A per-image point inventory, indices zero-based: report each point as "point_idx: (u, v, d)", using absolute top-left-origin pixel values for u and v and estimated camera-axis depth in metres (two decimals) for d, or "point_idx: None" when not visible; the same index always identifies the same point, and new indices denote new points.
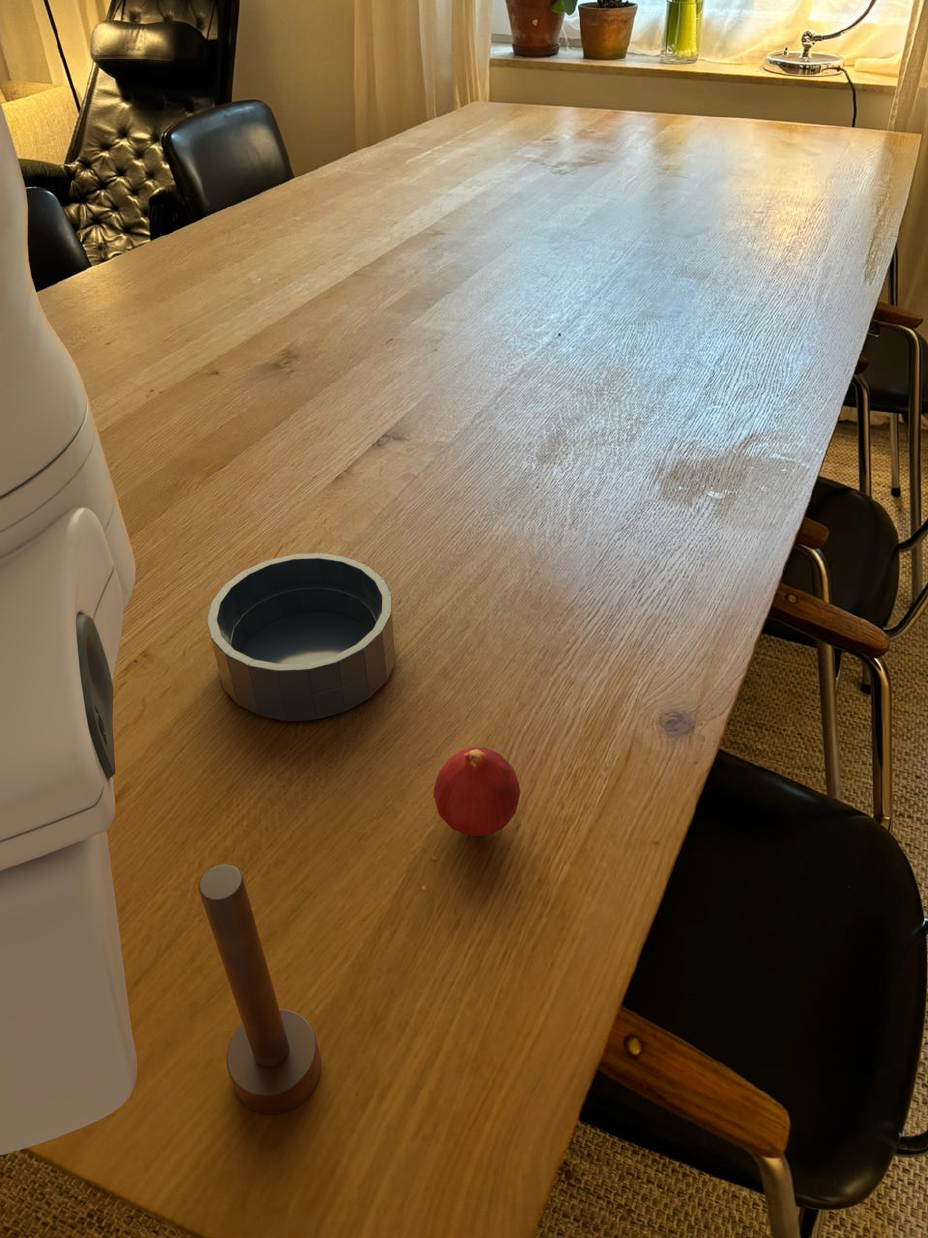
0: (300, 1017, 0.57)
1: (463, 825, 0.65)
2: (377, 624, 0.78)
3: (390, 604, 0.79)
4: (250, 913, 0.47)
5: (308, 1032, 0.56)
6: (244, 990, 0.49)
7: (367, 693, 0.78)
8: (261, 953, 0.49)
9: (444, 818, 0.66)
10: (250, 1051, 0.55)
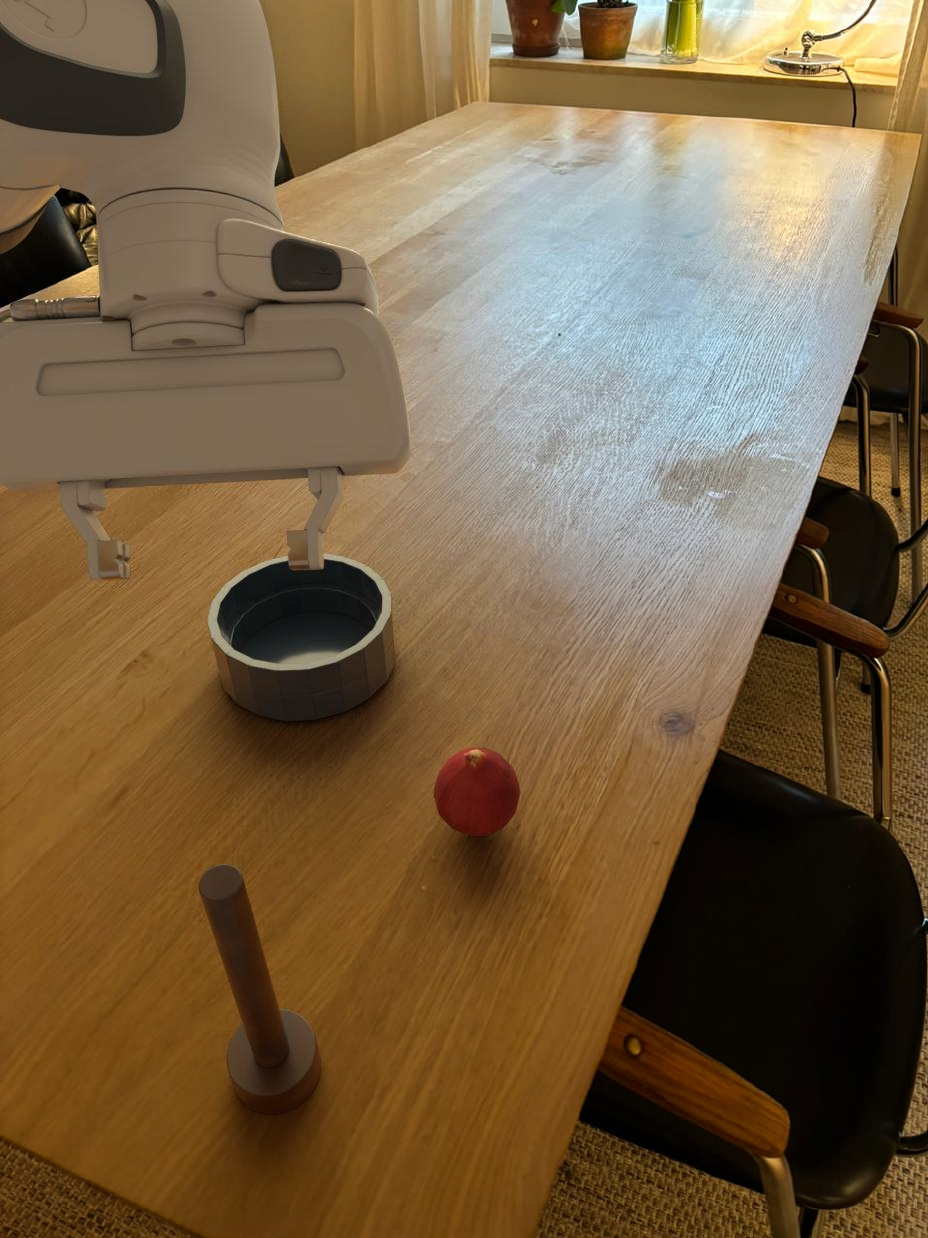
0: (300, 1017, 0.57)
1: (463, 825, 0.65)
2: (377, 624, 0.78)
3: (390, 604, 0.79)
4: (250, 913, 0.47)
5: (308, 1032, 0.56)
6: (244, 990, 0.49)
7: (367, 693, 0.78)
8: (261, 953, 0.49)
9: (444, 818, 0.66)
10: (250, 1051, 0.55)
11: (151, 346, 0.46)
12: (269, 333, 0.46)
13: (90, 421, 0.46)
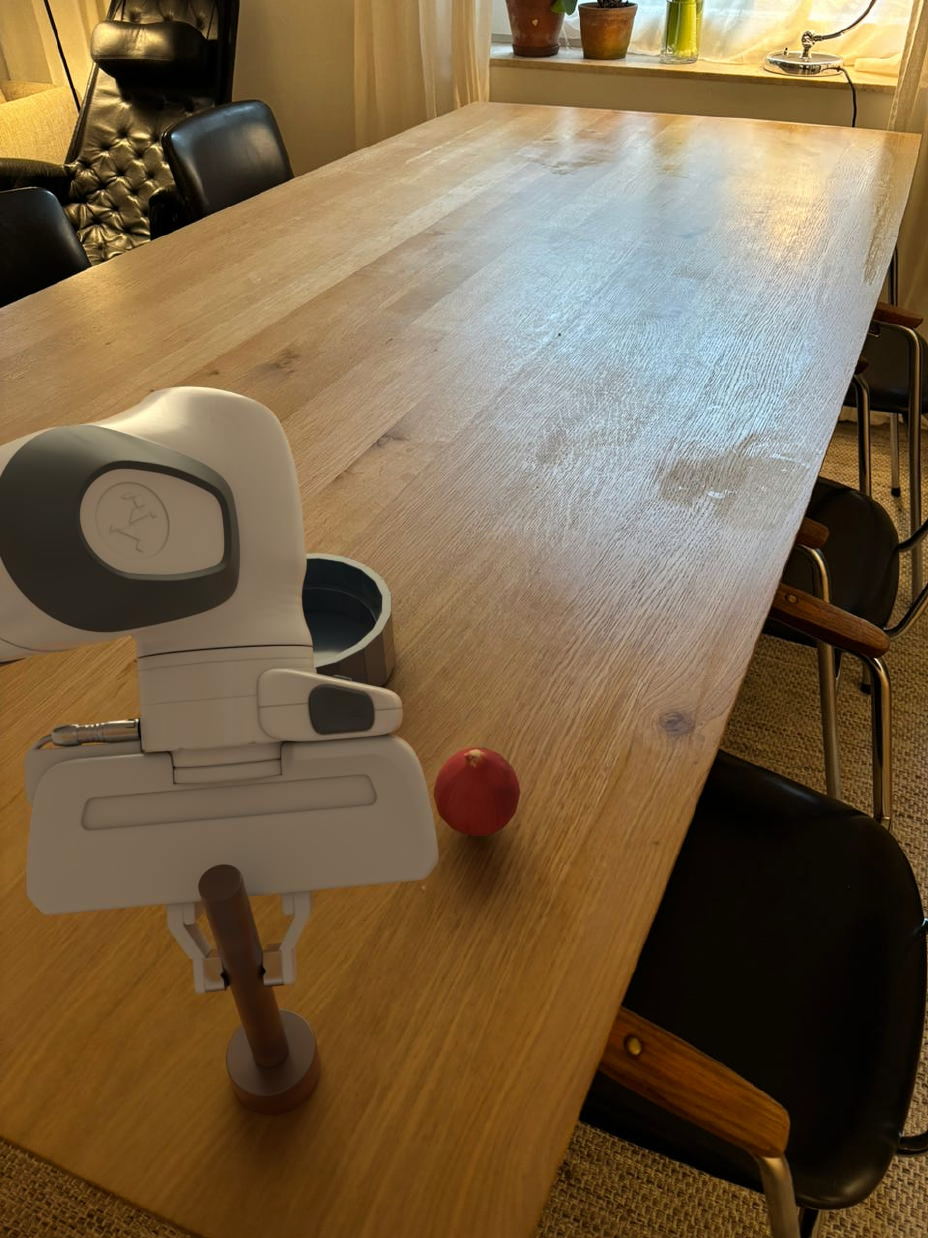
0: (299, 1017, 0.57)
1: (463, 825, 0.65)
2: (377, 624, 0.78)
3: (390, 604, 0.79)
4: (250, 913, 0.47)
5: (307, 1032, 0.56)
6: (243, 990, 0.49)
7: None
8: (260, 953, 0.49)
9: (444, 818, 0.66)
10: (249, 1051, 0.55)
11: None
12: (306, 767, 0.49)
13: (135, 855, 0.48)
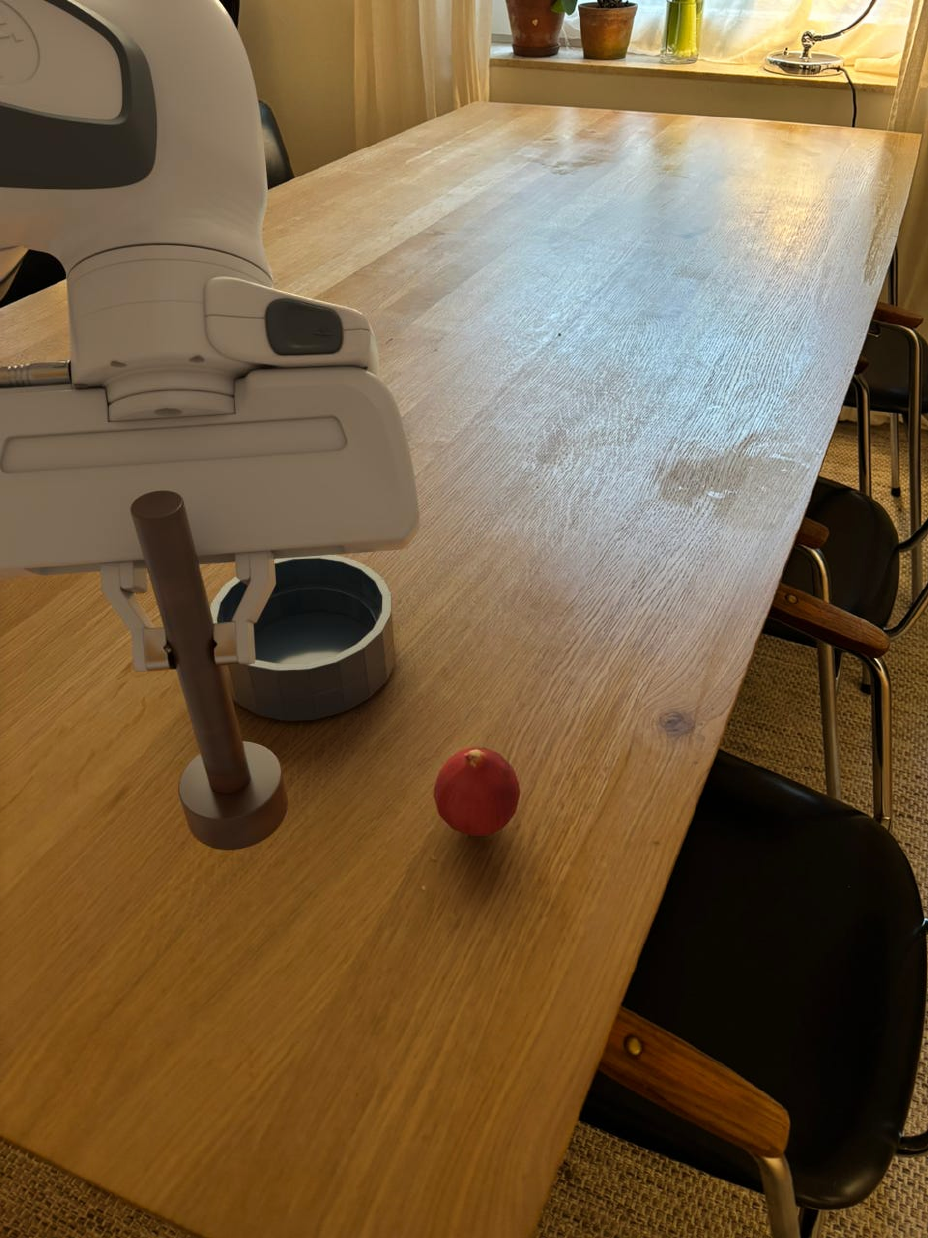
0: (264, 748, 0.50)
1: (463, 825, 0.65)
2: (377, 624, 0.78)
3: (390, 604, 0.79)
4: (194, 555, 0.39)
5: (273, 762, 0.49)
6: (191, 668, 0.42)
7: (367, 693, 0.78)
8: (210, 621, 0.42)
9: (444, 818, 0.66)
10: (205, 779, 0.48)
11: (130, 416, 0.41)
12: (263, 401, 0.41)
13: (62, 501, 0.41)
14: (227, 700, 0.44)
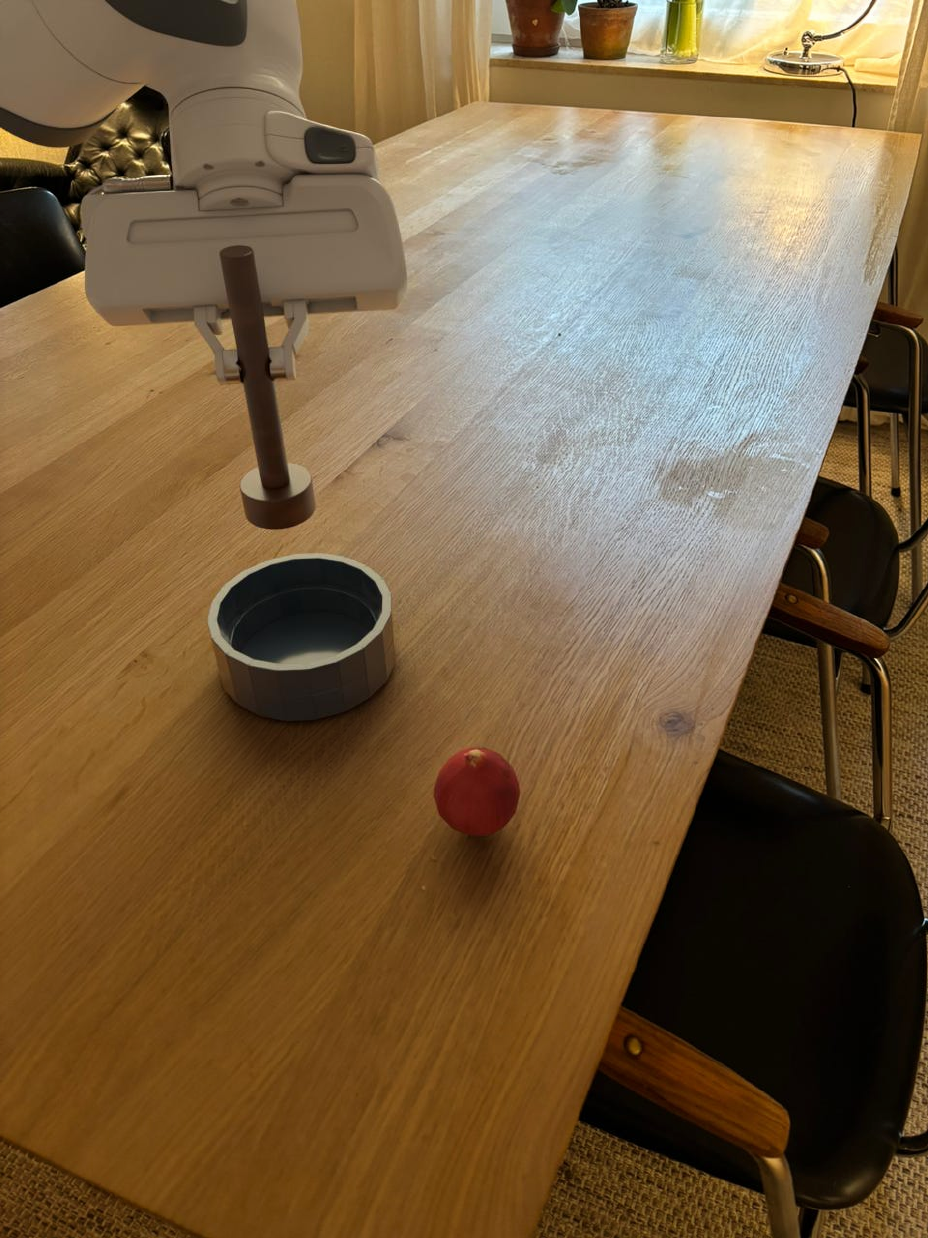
0: (298, 465, 0.70)
1: (463, 825, 0.65)
2: (377, 624, 0.78)
3: (390, 604, 0.79)
4: (259, 290, 0.60)
5: (305, 472, 0.70)
6: (254, 378, 0.63)
7: (367, 693, 0.78)
8: (267, 344, 0.62)
9: (444, 818, 0.66)
10: (258, 481, 0.69)
11: (214, 206, 0.62)
12: (302, 196, 0.62)
13: (169, 262, 0.62)
14: (276, 409, 0.65)
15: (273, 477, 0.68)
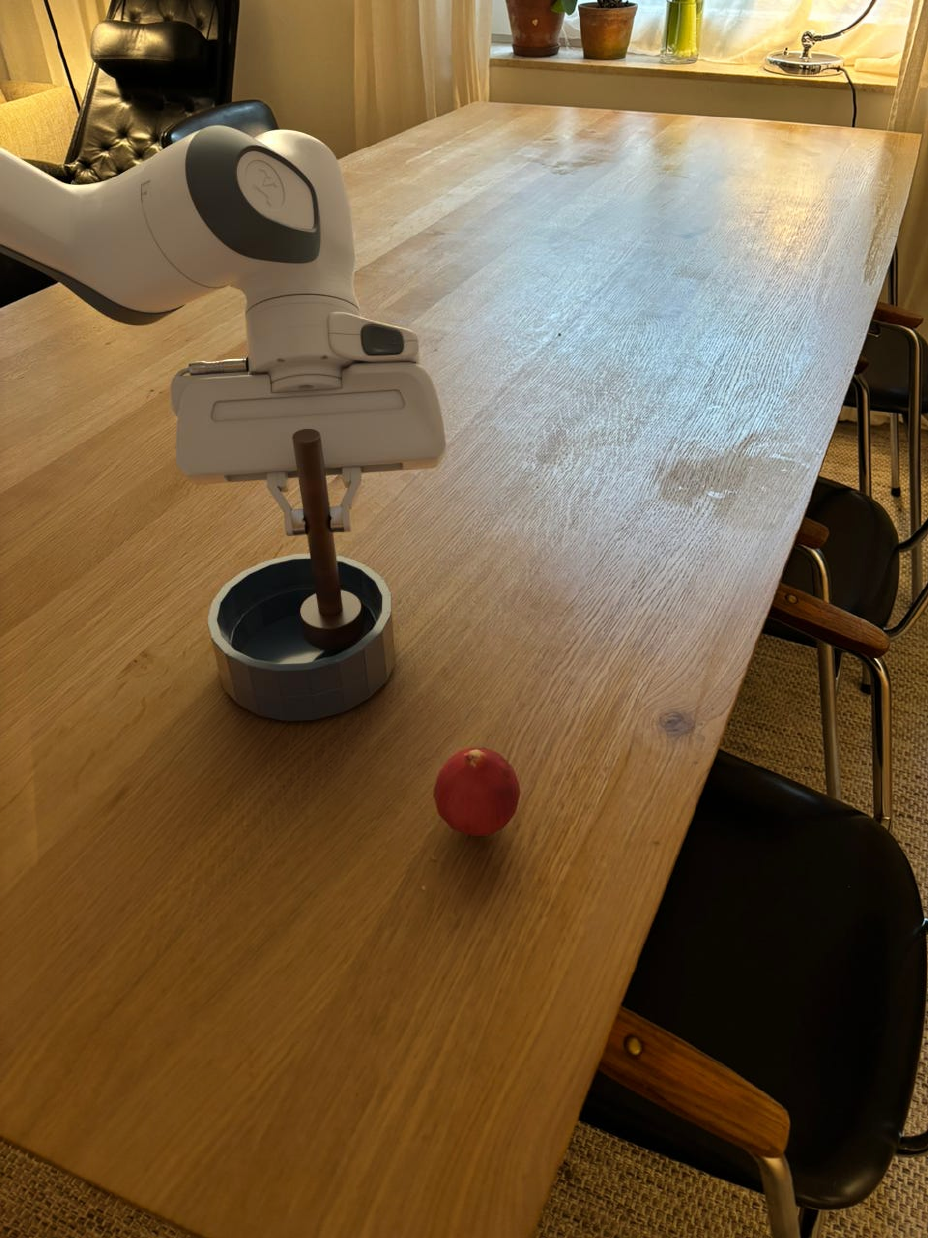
0: (349, 593, 0.82)
1: (463, 825, 0.65)
2: (377, 624, 0.78)
3: (390, 604, 0.79)
4: (323, 465, 0.72)
5: (355, 599, 0.81)
6: (317, 532, 0.74)
7: (367, 693, 0.78)
8: (329, 504, 0.74)
9: (444, 818, 0.66)
10: (316, 608, 0.81)
11: (284, 389, 0.73)
12: (358, 381, 0.74)
13: (246, 437, 0.73)
14: (334, 554, 0.77)
15: (329, 607, 0.79)
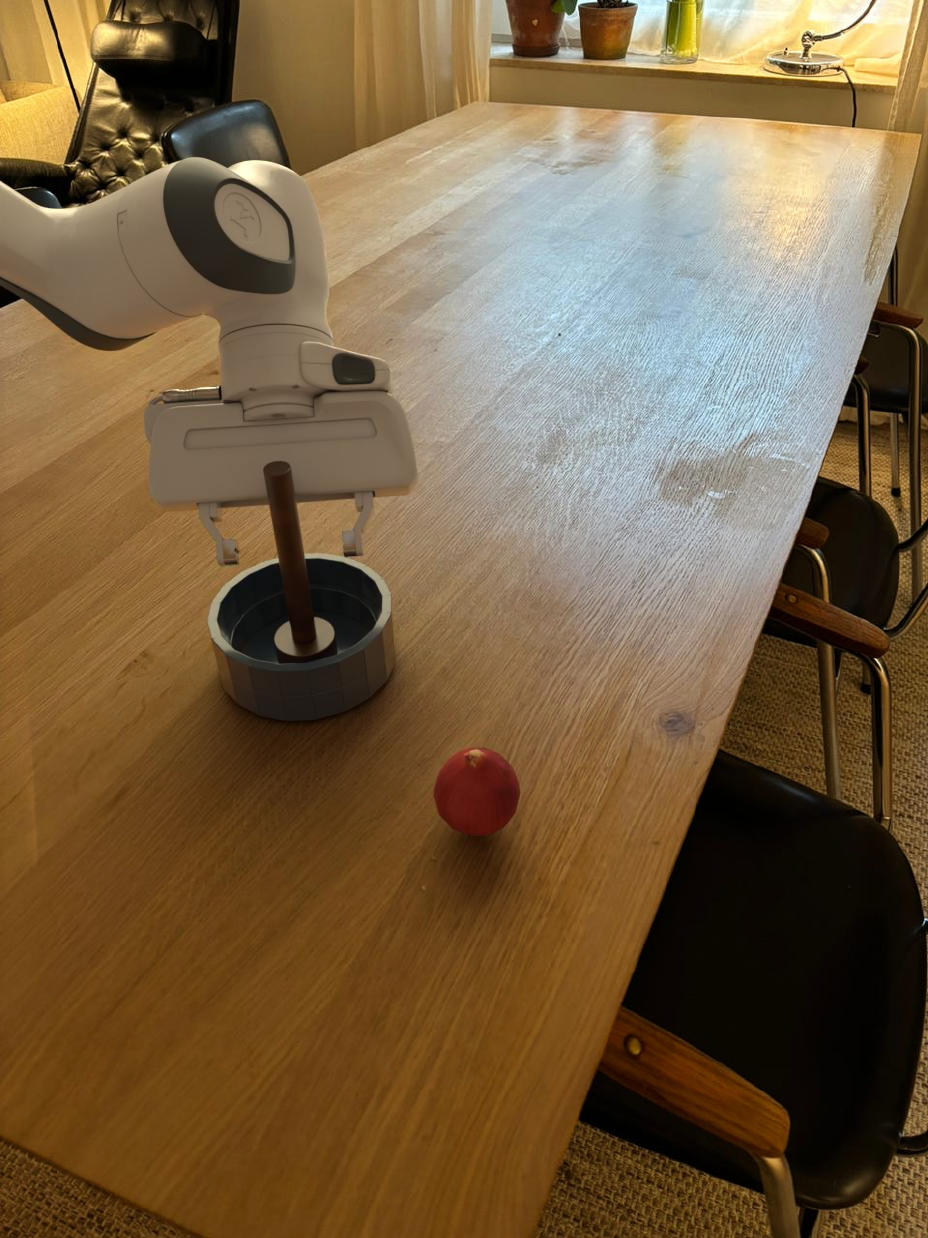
0: (323, 620, 0.83)
1: (463, 825, 0.65)
2: (377, 624, 0.78)
3: (390, 604, 0.79)
4: (294, 496, 0.72)
5: (329, 626, 0.82)
6: (289, 562, 0.75)
7: (367, 693, 0.78)
8: (300, 535, 0.75)
9: (444, 818, 0.66)
10: (290, 636, 0.81)
11: (256, 418, 0.74)
12: (330, 409, 0.74)
13: (218, 465, 0.74)
14: (307, 583, 0.77)
15: (303, 635, 0.80)
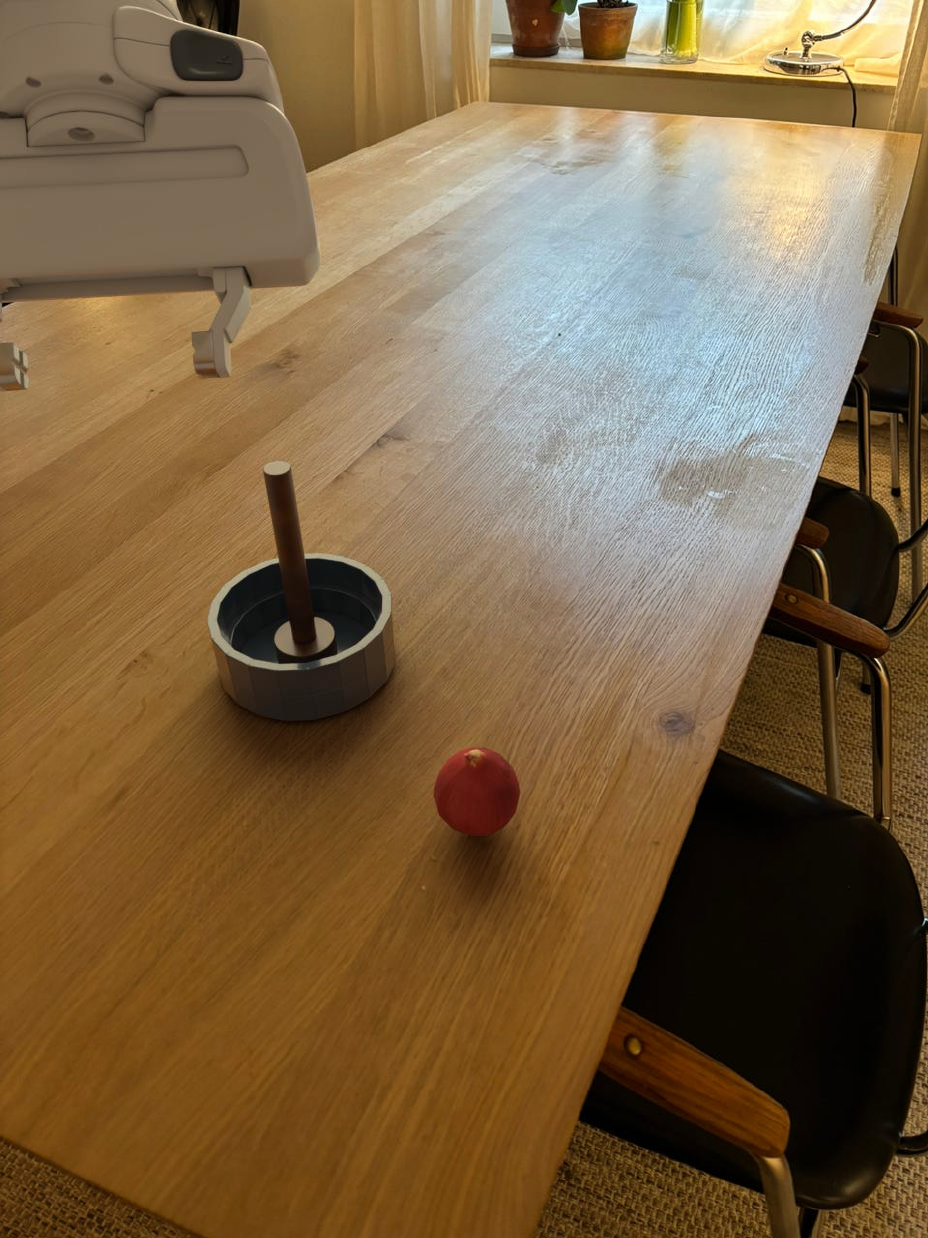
0: (323, 620, 0.83)
1: (463, 825, 0.65)
2: (377, 624, 0.78)
3: (390, 604, 0.79)
4: (294, 496, 0.72)
5: (329, 626, 0.82)
6: (289, 562, 0.75)
7: (367, 693, 0.78)
8: (300, 535, 0.75)
9: (444, 818, 0.66)
10: (290, 636, 0.81)
11: (47, 139, 0.45)
12: (170, 127, 0.45)
13: None
14: (307, 583, 0.77)
15: (303, 635, 0.80)
